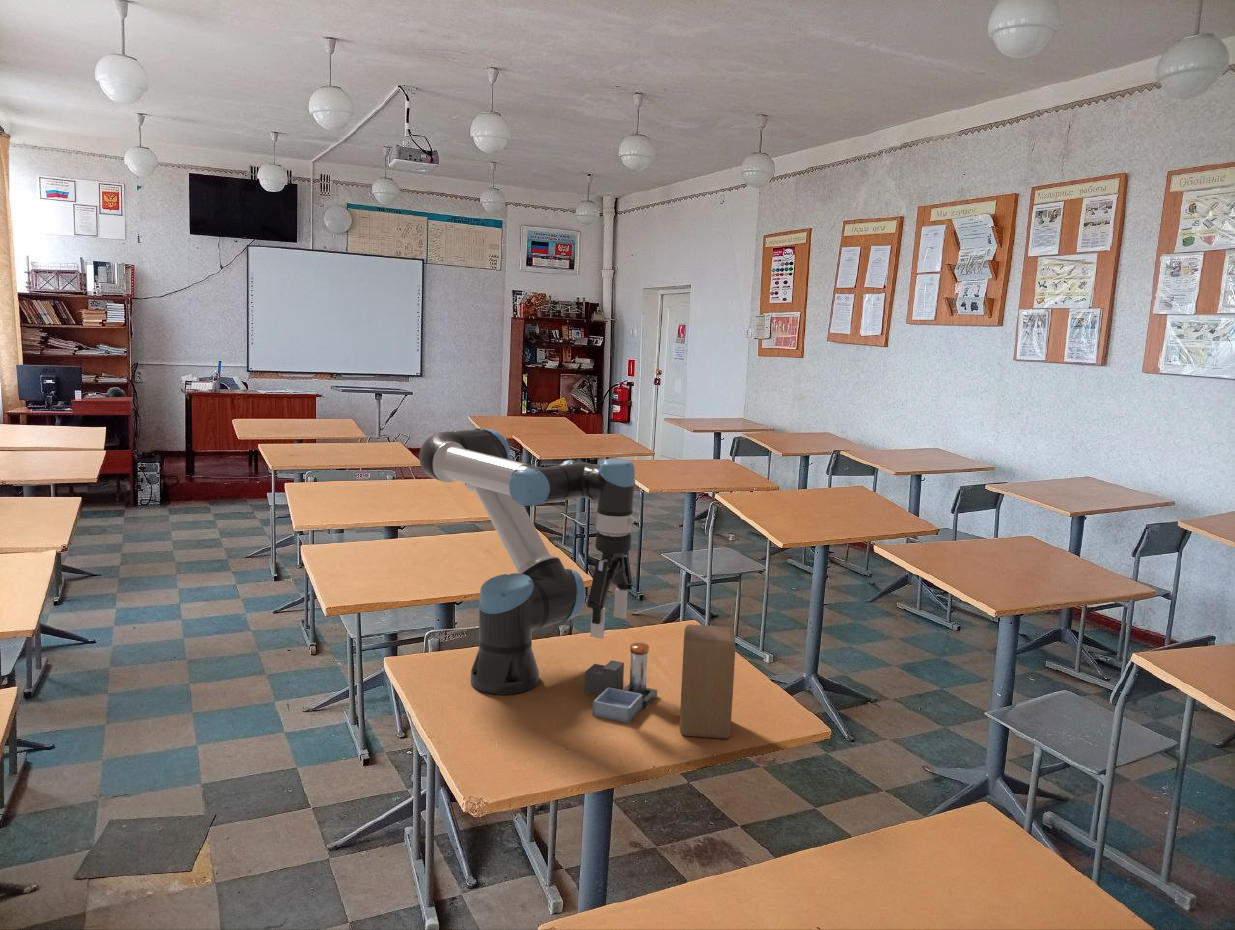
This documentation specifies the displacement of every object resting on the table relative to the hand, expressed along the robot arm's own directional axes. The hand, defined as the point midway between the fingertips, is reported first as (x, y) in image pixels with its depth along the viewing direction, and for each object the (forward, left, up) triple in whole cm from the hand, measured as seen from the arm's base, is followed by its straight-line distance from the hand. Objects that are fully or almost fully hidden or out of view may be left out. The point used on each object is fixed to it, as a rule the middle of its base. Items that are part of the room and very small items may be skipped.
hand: (608, 627), depth 189 cm
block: (+25, -8, -15) cm, 30 cm away
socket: (+8, -1, -15) cm, 17 cm away
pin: (+8, -1, -15) cm, 16 cm away
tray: (+6, -9, -15) cm, 18 cm away
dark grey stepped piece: (0, -1, -15) cm, 15 cm away
